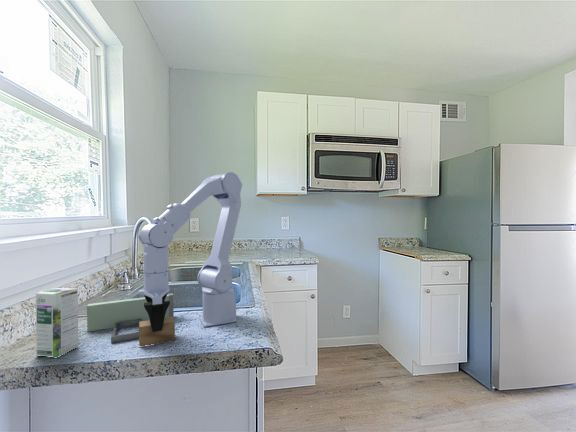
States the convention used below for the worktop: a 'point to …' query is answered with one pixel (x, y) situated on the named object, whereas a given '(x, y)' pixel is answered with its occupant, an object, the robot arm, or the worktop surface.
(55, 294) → the syrup box
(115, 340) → the socket
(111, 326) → the door panel
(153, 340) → the bar
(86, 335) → the worktop surface
